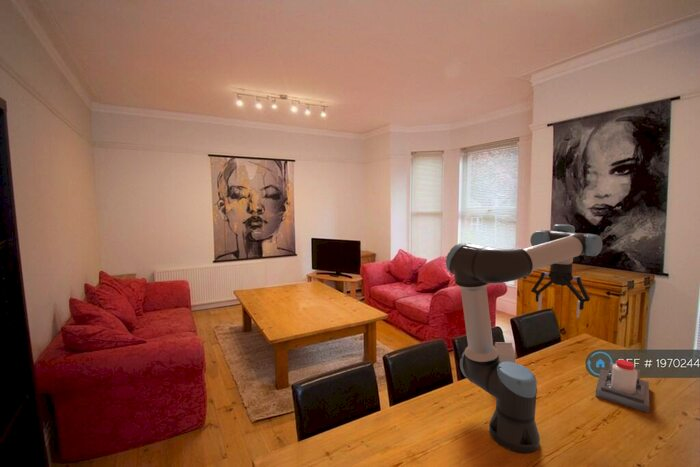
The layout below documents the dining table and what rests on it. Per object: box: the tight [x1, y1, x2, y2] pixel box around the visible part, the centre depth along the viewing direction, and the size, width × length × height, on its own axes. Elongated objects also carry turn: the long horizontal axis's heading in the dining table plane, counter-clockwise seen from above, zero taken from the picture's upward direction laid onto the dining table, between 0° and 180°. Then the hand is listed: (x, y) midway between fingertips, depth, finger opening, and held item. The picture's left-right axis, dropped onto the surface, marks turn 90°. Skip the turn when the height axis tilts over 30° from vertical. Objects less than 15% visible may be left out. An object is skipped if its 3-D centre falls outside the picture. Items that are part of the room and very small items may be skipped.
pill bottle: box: [611, 359, 637, 394], centre depth 132 cm, size 8×8×11 cm
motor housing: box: [595, 362, 650, 414], centre depth 135 cm, size 22×16×10 cm
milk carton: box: [493, 341, 517, 364], centre depth 140 cm, size 7×7×19 cm
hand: (558, 313), depth 135 cm, fingers open, 13 cm apart
